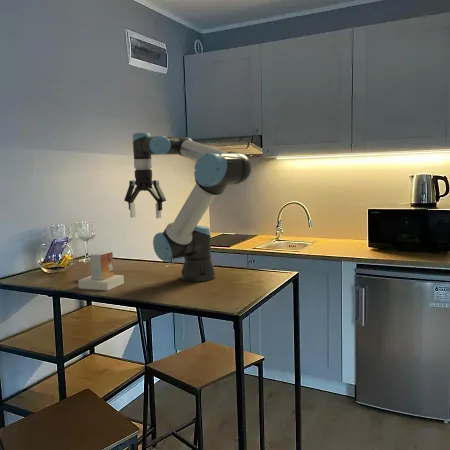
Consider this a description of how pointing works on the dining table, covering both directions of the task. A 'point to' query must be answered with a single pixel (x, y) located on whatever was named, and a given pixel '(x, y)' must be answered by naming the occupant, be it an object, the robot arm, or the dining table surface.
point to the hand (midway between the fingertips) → (145, 217)
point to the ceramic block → (101, 282)
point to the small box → (101, 265)
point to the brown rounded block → (89, 269)
